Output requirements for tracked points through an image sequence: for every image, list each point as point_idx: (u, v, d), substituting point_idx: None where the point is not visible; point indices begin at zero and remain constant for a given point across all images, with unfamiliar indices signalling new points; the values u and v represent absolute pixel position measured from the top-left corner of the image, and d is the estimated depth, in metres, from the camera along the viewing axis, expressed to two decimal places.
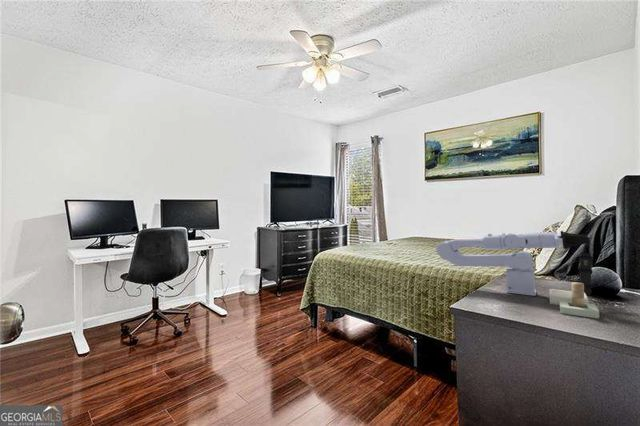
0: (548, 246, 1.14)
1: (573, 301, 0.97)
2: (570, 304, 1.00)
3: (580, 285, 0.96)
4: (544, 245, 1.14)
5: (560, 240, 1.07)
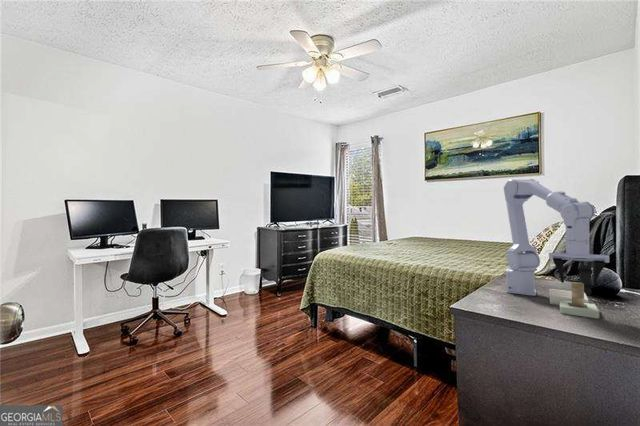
0: None
1: (573, 301, 0.97)
2: (570, 304, 1.00)
3: (580, 285, 0.96)
4: None
5: None
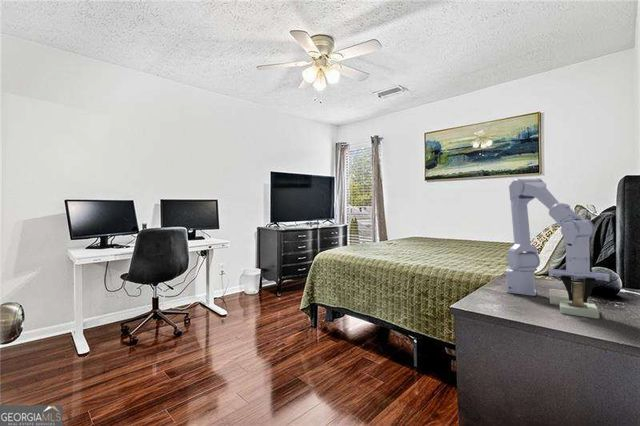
0: None
1: (573, 301, 0.97)
2: (570, 304, 1.00)
3: (580, 285, 0.96)
4: None
5: None
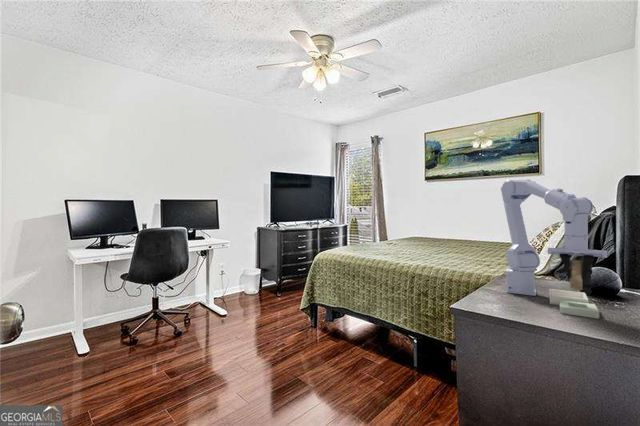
0: None
1: (572, 279, 0.98)
2: (570, 304, 1.00)
3: (578, 262, 0.97)
4: None
5: (548, 252, 1.02)
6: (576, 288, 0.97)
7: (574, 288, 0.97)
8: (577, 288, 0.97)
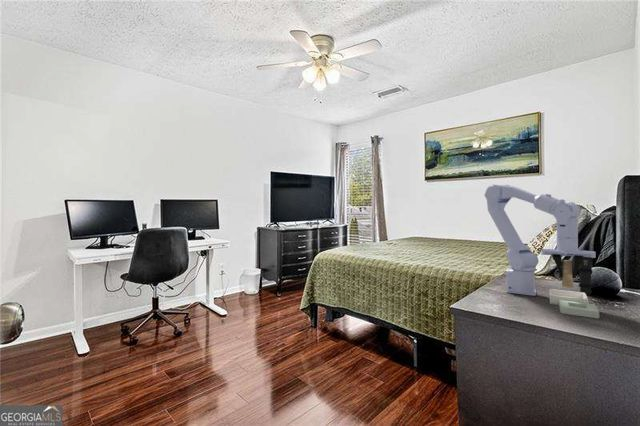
0: None
1: (563, 277, 1.06)
2: (570, 304, 1.00)
3: (569, 262, 1.05)
4: None
5: None
6: (567, 286, 1.05)
7: (566, 286, 1.06)
8: (568, 286, 1.05)
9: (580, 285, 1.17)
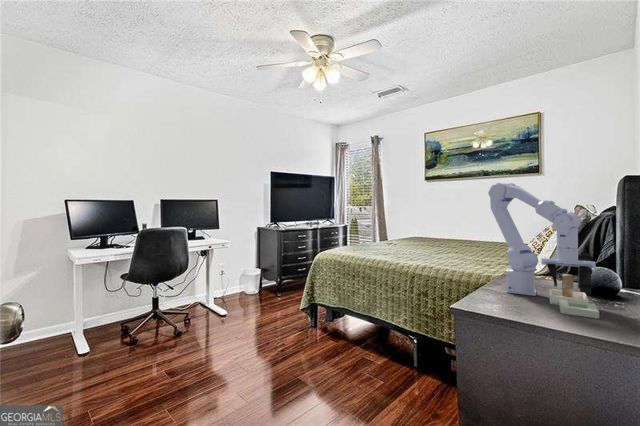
0: None
1: (564, 292, 1.06)
2: (570, 304, 1.00)
3: (570, 277, 1.05)
4: None
5: None
6: None
7: None
8: None
9: None
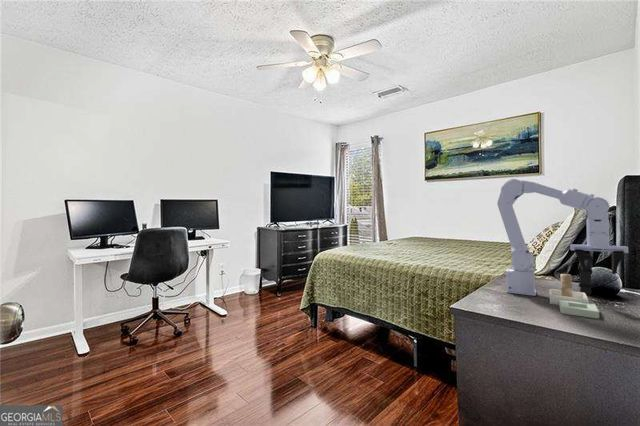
0: None
1: (563, 291, 1.06)
2: (570, 304, 1.00)
3: (568, 276, 1.05)
4: None
5: (571, 248, 1.09)
6: None
7: None
8: None
9: (580, 285, 1.17)
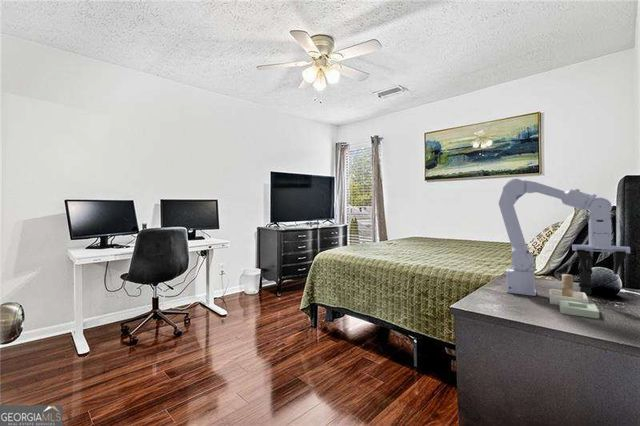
0: None
1: (564, 292, 1.06)
2: (570, 304, 1.00)
3: (570, 277, 1.05)
4: None
5: (573, 248, 1.09)
6: None
7: None
8: None
9: (580, 285, 1.17)
